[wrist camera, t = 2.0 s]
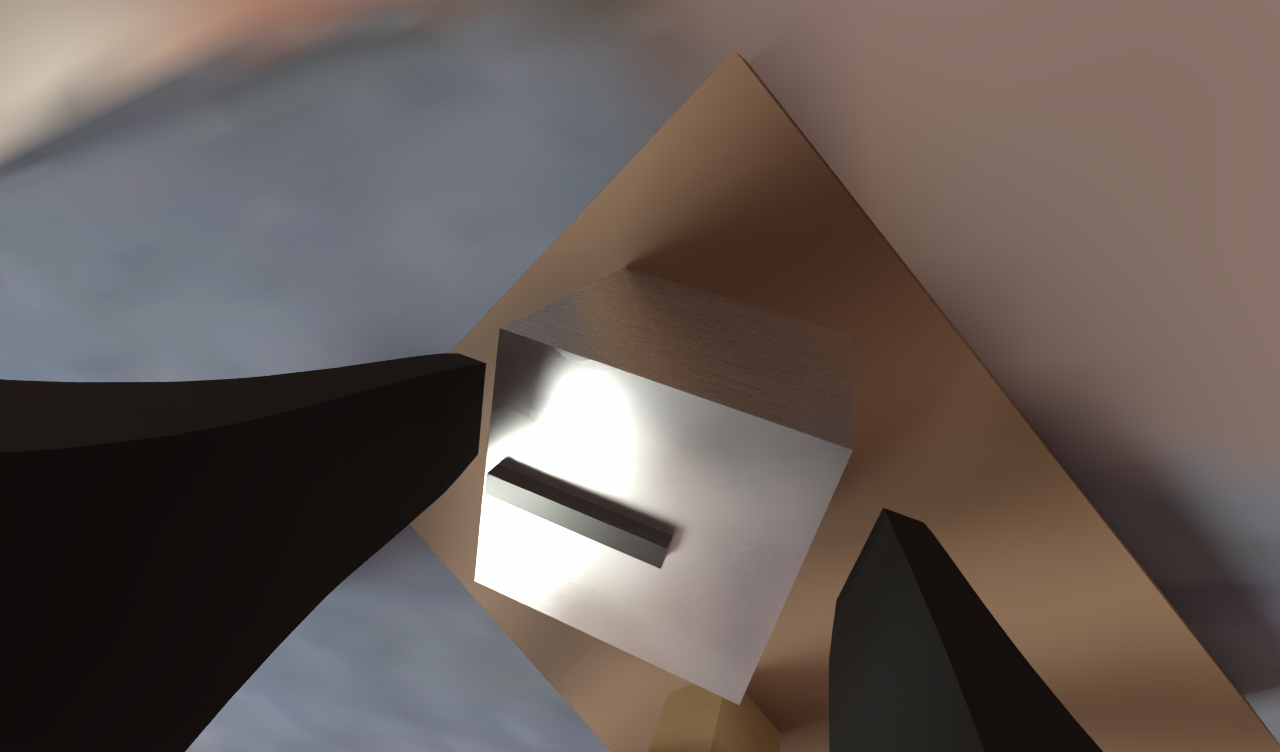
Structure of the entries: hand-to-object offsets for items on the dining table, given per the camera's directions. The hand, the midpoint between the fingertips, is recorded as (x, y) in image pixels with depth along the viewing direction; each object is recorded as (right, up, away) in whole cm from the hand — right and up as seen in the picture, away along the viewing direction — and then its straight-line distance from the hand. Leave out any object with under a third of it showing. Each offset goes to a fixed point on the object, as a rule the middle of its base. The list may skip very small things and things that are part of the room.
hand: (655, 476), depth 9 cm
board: (+2, -3, +6) cm, 7 cm away
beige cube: (+1, +1, +3) cm, 4 cm away
